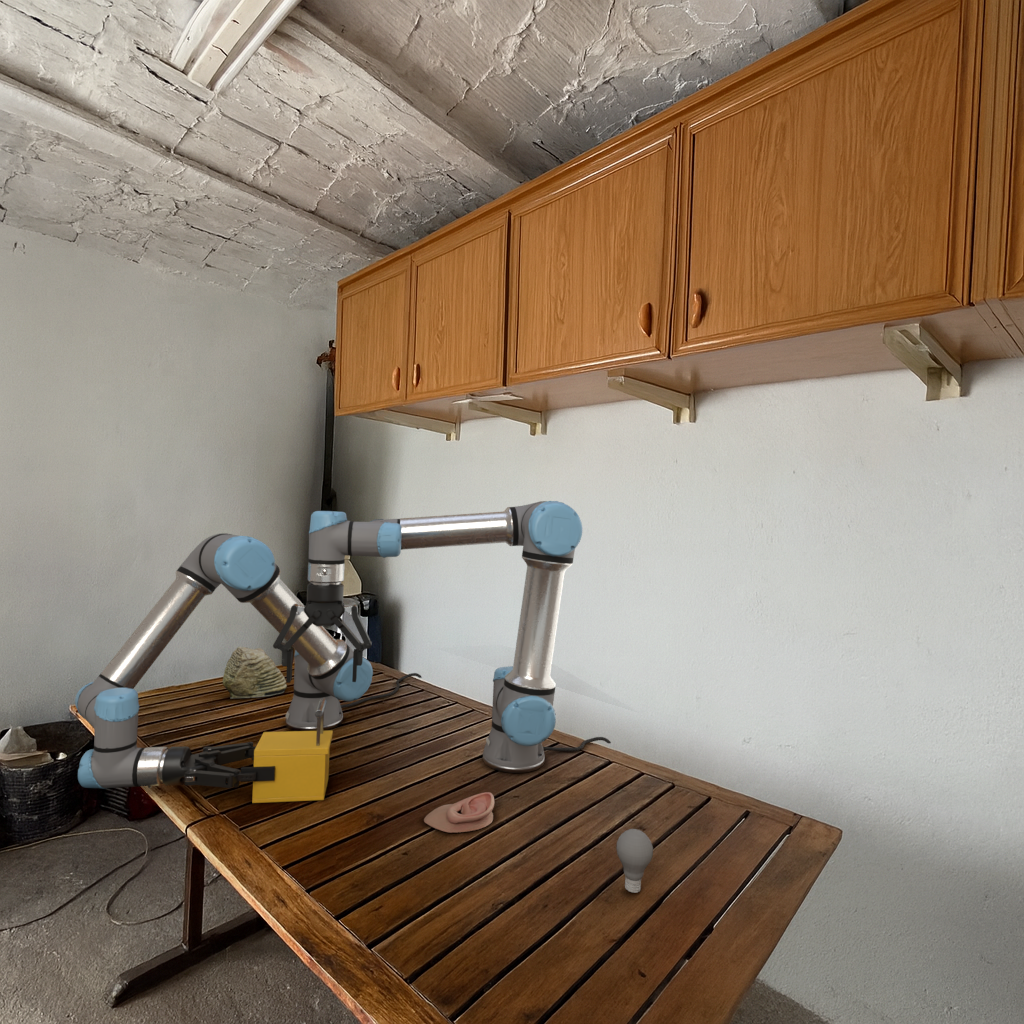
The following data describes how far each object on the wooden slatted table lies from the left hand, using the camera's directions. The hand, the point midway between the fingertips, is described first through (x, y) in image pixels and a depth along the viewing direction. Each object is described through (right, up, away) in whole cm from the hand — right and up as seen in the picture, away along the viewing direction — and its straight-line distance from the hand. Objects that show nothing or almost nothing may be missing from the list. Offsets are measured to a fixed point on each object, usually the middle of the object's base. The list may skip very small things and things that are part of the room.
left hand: (279, 762), depth 135 cm
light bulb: (+70, -10, -30) cm, 77 cm away
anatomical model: (+39, -8, -9) cm, 41 cm away
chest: (+3, -6, +1) cm, 7 cm away
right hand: (+9, +17, +1) cm, 19 cm away
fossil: (-31, -4, +63) cm, 70 cm away
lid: (+3, +3, +1) cm, 5 cm away
